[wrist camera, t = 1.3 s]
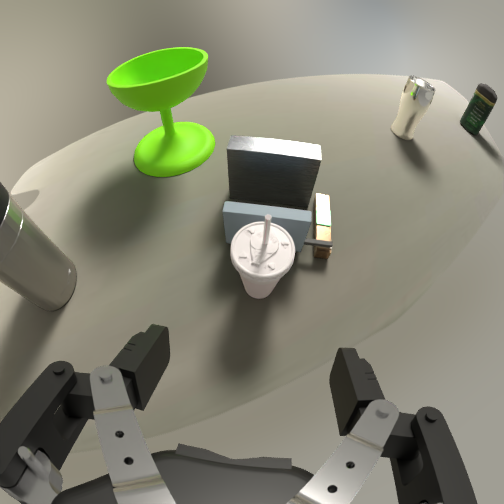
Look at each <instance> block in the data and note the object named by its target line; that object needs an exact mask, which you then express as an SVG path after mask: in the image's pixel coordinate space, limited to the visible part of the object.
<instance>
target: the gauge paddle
mask: <svg viewBox="0 0 504 504" xmlns="http://www.w3.org/2000/svg"><path fill="white" fill-rule="evenodd" d="M267 214H269V215H271V217H272V218H271V223H274V224H276V225H279V226H280V227H282V228H283V229H285V230H286V231H287V232H288V233H289V235H290V236H291V237H292V239H293V242H294V245H295V251H297V252H301V250H302V247H303V244H306V245H313V246H321V247H329V248H331V247H332V241H324V240H317V239H309V238H306V236H307V233H308V230H309V227H310V224H311V211H305V210H298V209H290V208H282V207H274V206H266V205H257V204H248V203H239V202H229V201H225V203H224V208H223V219H224V228H225V237H226V243H231V242H232V240H233V237H234V236H235V234H236V233H237V232H238V231H239V230H240V229H241V228H242V227H244V226H246V225H248V224H250V223H254V222H265V216H266V215H267Z"/></svg>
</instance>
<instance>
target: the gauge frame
mask: <svg viewBox="0 0 504 504" xmlns="http://www.w3.org/2000/svg"><path fill="white" fill-rule="evenodd" d="M227 160H228V176H229V191H230V198H232V199H241V200H251V201H260V202H268V203H277V204H285V205H293V206H300V207H307V208H308V205H309V202H310V198H311V195H312V191H313V188H314V184H315V181H316V177H317V174H318V170H319V167H320V163H321V148H320V145H314V144H308V143H301V142H294V141H286V140H278V139H269V138H260V137H249V136H236V135H231V137H230V140H229V143H228V147H227ZM330 226H331V219H330V206H329V195H322V194H316V196H315V199H314V239H317V240H324V241H331V230H330ZM330 254H331V248H329V247H321V246H314V257H316V258H324V259H328V257H329V256H330Z"/></svg>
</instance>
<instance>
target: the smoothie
mask: <svg viewBox="0 0 504 504" xmlns="http://www.w3.org/2000/svg"><path fill="white" fill-rule="evenodd" d="M271 218H272V217H271V215H269V214H267V215H266V216H265V222H254V223H250V224H248V225H246V226H244V227H242V228H241V229H240V230H239V231H238V232H237V233H236V234H235V236H234V237H233V240H232V242H231V253H230V256H231V260H232V263H233V265H234V267H235V268H236V270H237V271H238V272H239V274H240V276H241V279H242V282H243V285H244V287H245V290H246V292H247V293H248V294H249V295H250V296H251V297H253V298H257V299H261V298H265V297H267V296H268V295H269V294H270V293H271V292H272V290H273V289H274V287H275V286H276V284H277V283H278V281H279V280H280V278H281V277H282V276H284V275H285V274H286V273H287V272H288V271H289V270H290V268H291V266H292V264H293V261H294V256H295V245H294V242H293V239H292V237H291V236H290V235H289V233H288V232H287V231H286V230H285V229H283V228H282V227H280V226H279V225H276V224H274V223H271Z"/></svg>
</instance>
